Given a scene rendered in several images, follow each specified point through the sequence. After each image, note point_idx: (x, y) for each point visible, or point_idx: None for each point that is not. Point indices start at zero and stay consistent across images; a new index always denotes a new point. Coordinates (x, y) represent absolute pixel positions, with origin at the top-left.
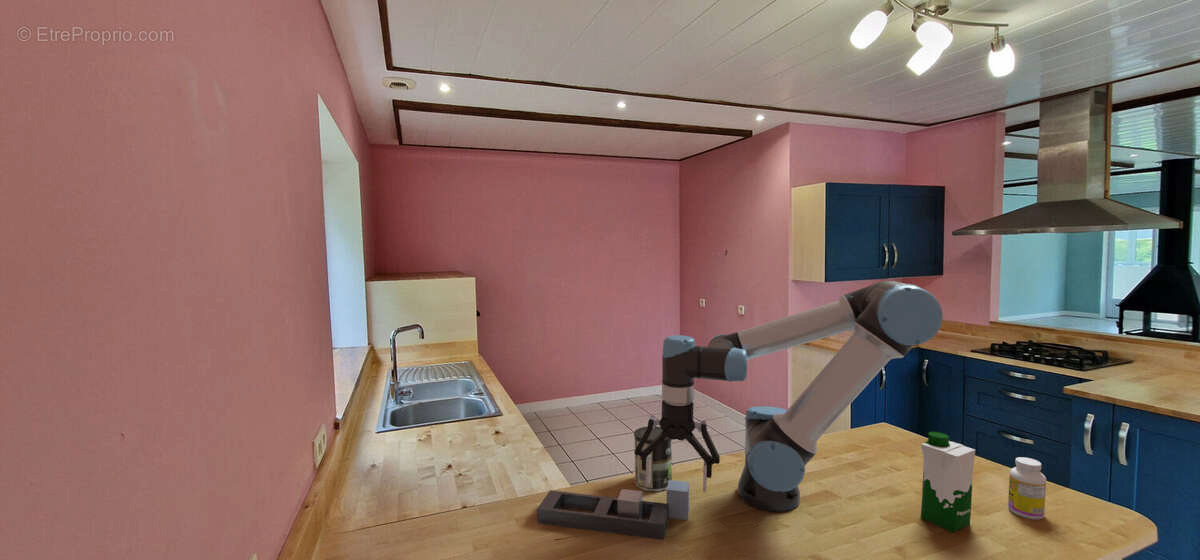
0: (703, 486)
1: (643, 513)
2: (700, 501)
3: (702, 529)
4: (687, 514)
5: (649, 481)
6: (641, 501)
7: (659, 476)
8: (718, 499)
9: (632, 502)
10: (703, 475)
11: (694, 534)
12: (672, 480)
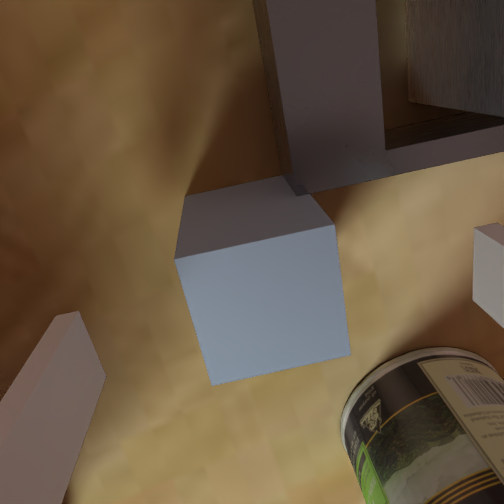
0: (60, 337)
1: (418, 127)
2: (182, 369)
3: (84, 144)
4: (185, 205)
5: (483, 259)
6: (480, 63)
7: (411, 420)
8: (113, 414)
9: None
10: (24, 404)
11: (104, 77)
12: (324, 357)
